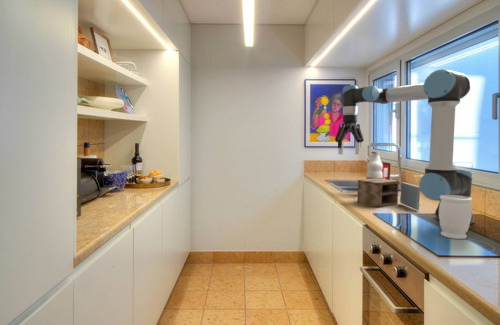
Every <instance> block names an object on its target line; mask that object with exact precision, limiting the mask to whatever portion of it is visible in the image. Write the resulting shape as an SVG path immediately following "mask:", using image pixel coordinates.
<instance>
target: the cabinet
mask: <svg viewBox="0 0 500 325" xmlns="http://www.w3.org/2000/svg"><path fill="white" fill-rule="evenodd" d="M399 182H400V180H396V179H395V180H394V179H390V180H387V179H379V178H372V179H367V178H366V179H365V178H364V179H358V180H357V199H356V200H357V201H356V203H357V204H359V205H365V206H370V207H375V208H379V209H381V208H386V207H389V206H396V205H398V201H399Z"/></svg>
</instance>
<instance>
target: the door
mask: <svg viewBox="0 0 500 325" xmlns="http://www.w3.org/2000/svg"><path fill="white" fill-rule="evenodd" d="M420 194H421V190H420V187H419V186H418V185H414V184H411V183H407V182H404V181H402V182H401V183H400V196H399V202H400V204H402V205H404V206H407V207H409V208H410V209H411V208H412V209H413V210H419V209H420V206H421V203H420V197H421V196H420Z"/></svg>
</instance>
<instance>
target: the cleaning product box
mask: <svg viewBox="0 0 500 325" xmlns="http://www.w3.org/2000/svg"><path fill="white" fill-rule="evenodd" d="M369 161H370V160H369ZM369 161H368V162H369ZM368 162H367V163H368ZM381 162H382V164H383V168H382V173H383V179H387V180H391V173H390V172H391V162H390V163H389V162H387V161H382V160H381Z"/></svg>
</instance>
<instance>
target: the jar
mask: <svg viewBox="0 0 500 325" xmlns="http://www.w3.org/2000/svg"><path fill="white" fill-rule="evenodd" d="M440 199H441V202H440V201H439V202H440V206H439V219H440V220H439V226H440V228H441V232H440V235H441V236H443V237H445V238H449V239H454V240H465V239H467V238H468V236H467V234H466V233H467V232H468V231H469V229H470V225H471V224H470V221H471V217H472V213H473V210H472V204H471V203H472V202H473V199H474V198H472V197H466V196H459V195H440Z"/></svg>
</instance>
